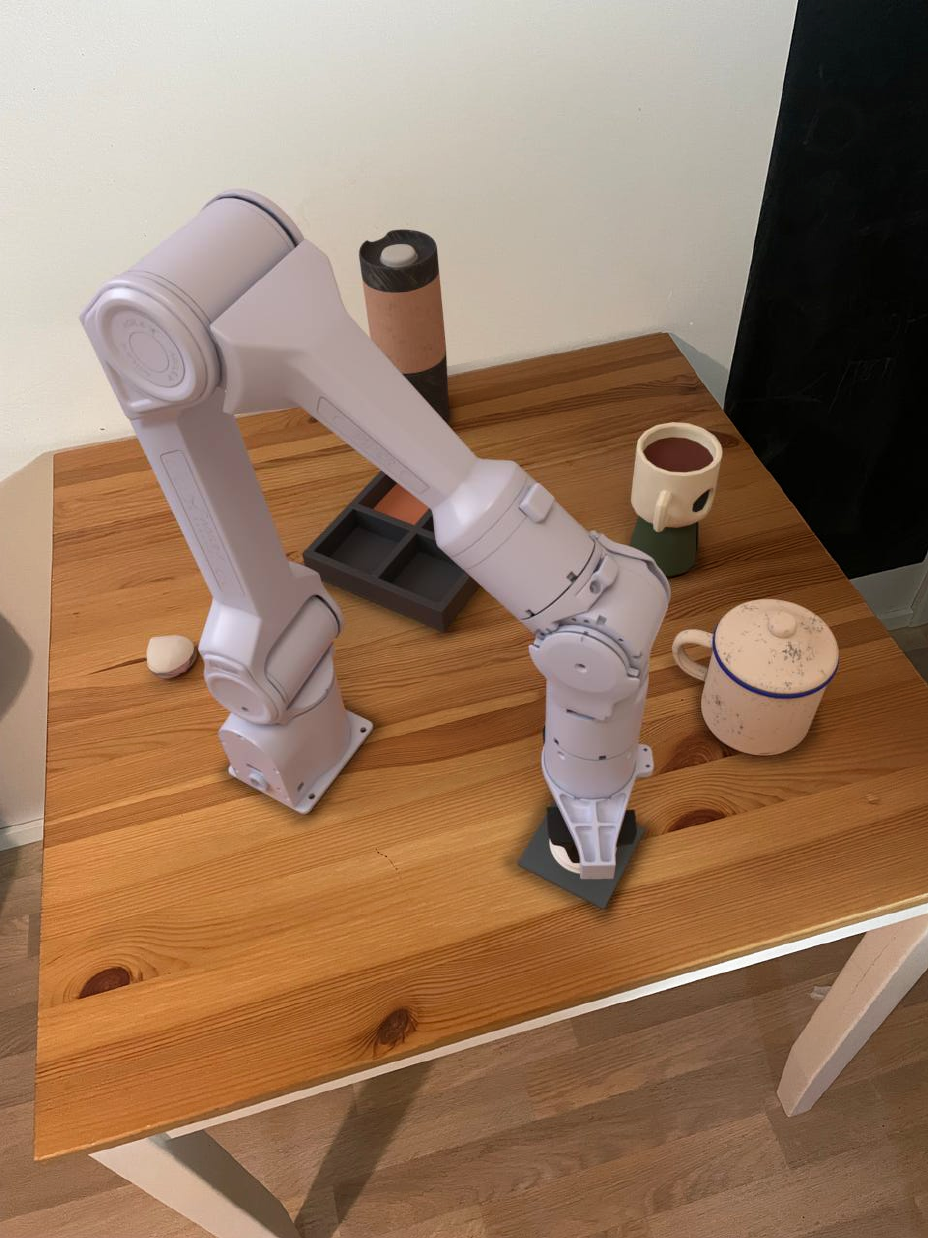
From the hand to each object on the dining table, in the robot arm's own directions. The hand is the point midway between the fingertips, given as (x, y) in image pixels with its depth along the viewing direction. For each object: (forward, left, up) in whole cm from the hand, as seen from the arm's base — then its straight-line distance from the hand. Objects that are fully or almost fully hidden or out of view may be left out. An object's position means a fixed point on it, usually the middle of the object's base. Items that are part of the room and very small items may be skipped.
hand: (583, 827), depth 66 cm
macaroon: (-2, +39, -3) cm, 40 cm away
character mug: (+30, +6, -3) cm, 31 cm away
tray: (+20, +27, -3) cm, 34 cm away
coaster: (0, 0, -3) cm, 3 cm away
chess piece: (0, 0, -3) cm, 3 cm away
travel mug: (+37, +38, -3) cm, 54 cm away
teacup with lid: (+17, -6, -3) cm, 19 cm away
